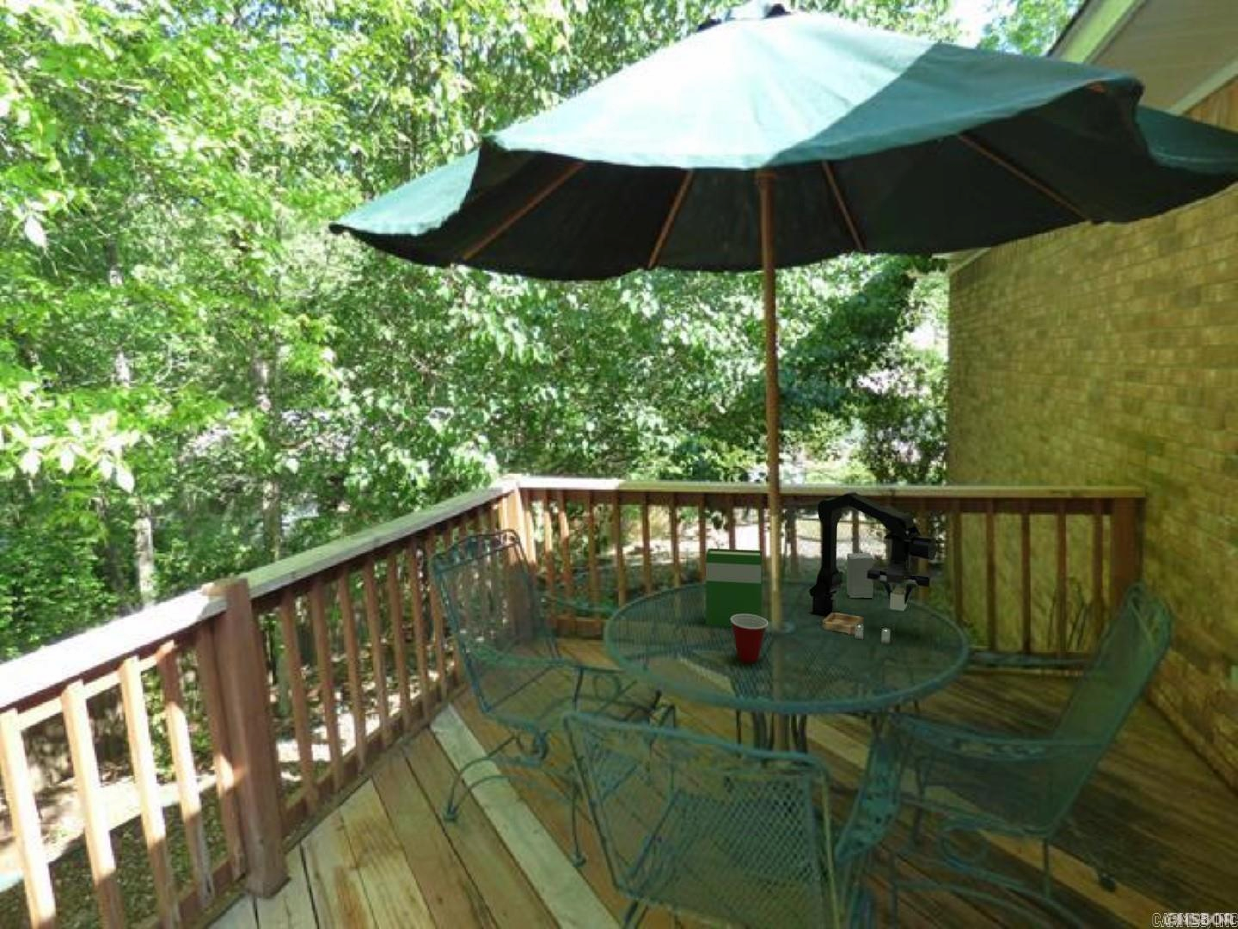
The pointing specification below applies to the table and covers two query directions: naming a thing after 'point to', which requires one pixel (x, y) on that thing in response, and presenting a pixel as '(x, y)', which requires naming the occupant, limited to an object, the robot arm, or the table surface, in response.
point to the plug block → (898, 599)
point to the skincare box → (859, 575)
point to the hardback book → (732, 584)
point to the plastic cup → (748, 636)
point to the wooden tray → (842, 622)
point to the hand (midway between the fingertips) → (898, 602)
